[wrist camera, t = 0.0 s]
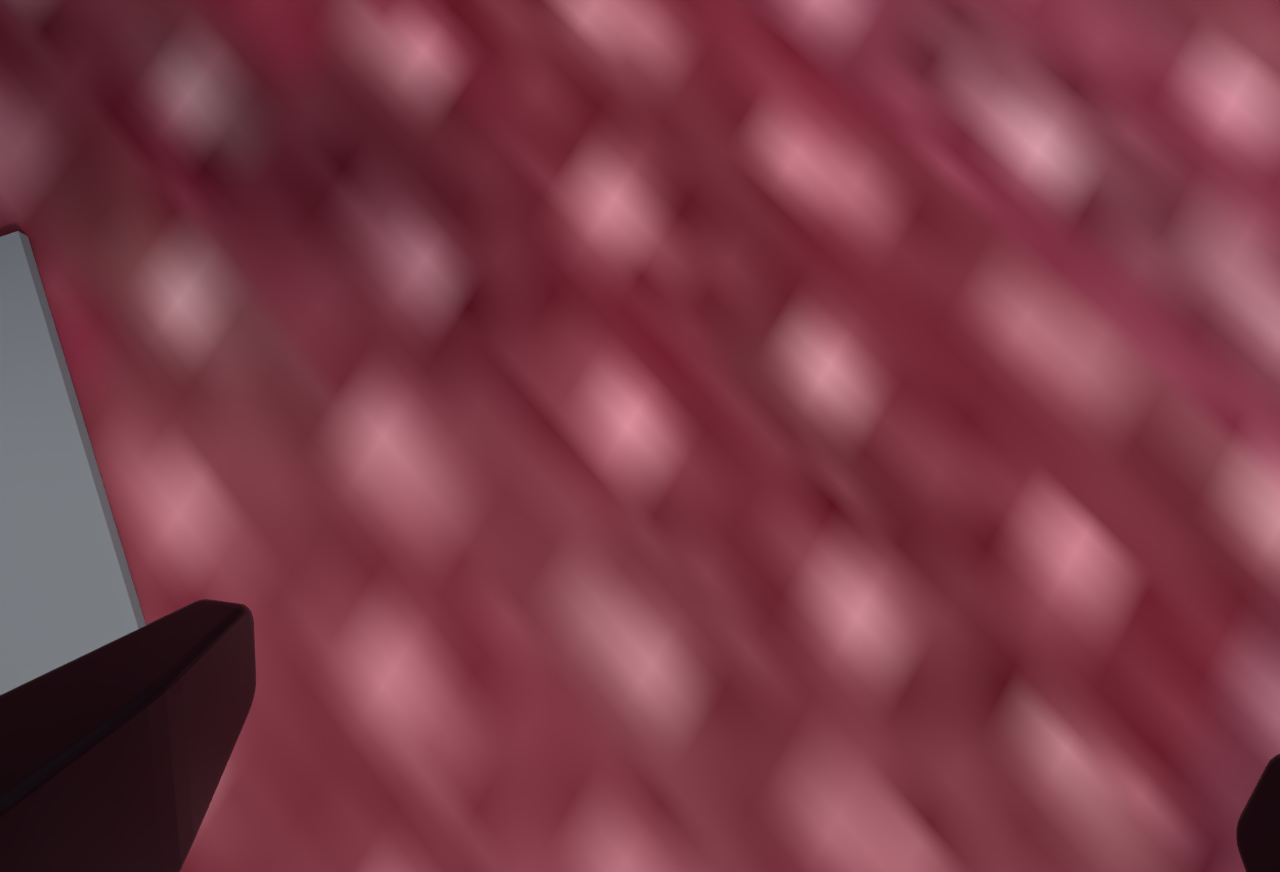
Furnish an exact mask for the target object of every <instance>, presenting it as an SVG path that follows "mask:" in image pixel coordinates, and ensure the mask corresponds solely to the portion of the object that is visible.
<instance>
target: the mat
mask: <svg viewBox="0 0 1280 872" xmlns="http://www.w3.org/2000/svg"><path fill="white" fill-rule="evenodd" d="M144 626H146V624H145V620H144V617H143V614H142V611H141V607H140V604H139V601H138V597H137V594H136V591H135V587H134V584H133V581H132V578H131V574H130V571H129V568H128V564H127V561H126V558H125V555H124V551H123V548H122V545H121V541H120V538H119V535H118V532H117V528H116V525H115V522H114V518H113V515H112V512H111V509H110V505H109V502H108V499H107V495H106V492H105V489H104V485H103V482H102V479H101V476H100V472H99V469H98V466H97V462H96V459H95V456H94V453H93V449H92V446H91V443H90V439H89V436H88V433H87V430H86V426H85V423H84V420H83V416H82V413H81V410H80V407H79V403H78V400H77V397H76V393H75V390H74V387H73V383H72V380H71V377H70V374H69V370H68V367H67V364H66V360H65V357H64V354H63V351H62V347H61V344H60V341H59V337H58V334H57V331H56V328H55V324H54V321H53V318H52V314H51V311H50V308H49V305H48V301H47V298H46V295H45V291H44V288H43V285H42V281H41V278H40V275H39V272H38V268H37V265H36V262H35V258H34V255H33V252H32V249H31V245H30V242H29V239H28V236H26V235H24V234H23V233H21V232H19V231H16V232H13V233H10V234H7V235H4V236H1V237H0V695H2V694H4V693H6V692H8V691H10V690H12V689H14V688H16V687H18V686H20V685H22V684H25V683H27V682H29V681H31V680H33V679H35V678H37V677H39V676H41V675H43V674H45V673H48V672H50V671H52V670H54V669H56V668H58V667H60V666H62V665H64V664H66V663H68V662H71V661H73V660H75V659H77V658H79V657H81V656H83V655H85V654H87V653H89V652H91V651H93V650H96V649H98V648H100V647H102V646H104V645H106V644H108V643H110V642H112V641H114V640H116V639H119V638H121V637H123V636H125V635H127V634H129V633H131V632H133V631H135V630H137V629H139V628H141V627H144Z"/></svg>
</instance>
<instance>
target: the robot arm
mask: <svg viewBox="0 0 1280 872" xmlns="http://www.w3.org/2000/svg"><path fill="white" fill-rule="evenodd" d="M255 687H256V666H255V641H254V621H253V616H252V613H251V610H250V609H249V608H248V607H246V606H245V605H243V604H237V603H230V602H223V601H216V600H208V599H203V600H199V601H196V602H194V603H192V604H190V605H187V606H185V607H183V608H181V609H179V610H177V611H175V612H173V613H171V614H169V615H167V616H164V617H162V618H160V619H158V620H156V621H154V622H152V623H150V624H148V625H146V626H144V627H141V628H139V629H137V630H135V631H133V632H131V633H129V634H127V635H125V636H123V637H121V638H119V639H116V640H114V641H112V642H110V643H108V644H106V645H104V646H102V647H100V648H98V649H96V650H93V651H91V652H89V653H87V654H85V655H83V656H81V657H79V658H77V659H75V660H73V661H71V662H68V663H66V664H64V665H62V666H60V667H58V668H56V669H54V670H52V671H50V672H48V673H45V674H43V675H41V676H39V677H37V678H35V679H33V680H31V681H29V682H27V683H25V684H22V685H20V686H18V687H16V688H14V689H12V690H10V691H8V692H6V693H4V694H2V695H0V872H180V870H181V868H182V866H183V864H184V862H185V859H186V857H187V855H188V853H189V851H190V849H191V846H192V844H193V842H194V840H195V837H196V835H197V833H198V830H199V828H200V826H201V823H202V821H203V819H204V816H205V814H206V812H207V809H208V807H209V805H210V802H211V800H212V797H213V795H214V793H215V790H216V788H217V786H218V783H219V781H220V779H221V776H222V774H223V772H224V769H225V767H226V765H227V762H228V760H229V758H230V755H231V753H232V751H233V748H234V746H235V744H236V741H237V739H238V737H239V734H240V732H241V730H242V727H243V725H244V723H245V720H246V718H247V716H248V713H249V711H250V708H251V705H252V702H253V699H254V694H255ZM1236 838H1237V845H1238V850H1239V853H1240V856H1241V859H1242V862H1243V865H1244V867H1245V870H1246V872H1280V754H1278V755H1276V756H1275V757H1274V758H1272V759H1271V760H1270V761H1269V763H1268V764H1267V766H1266V768H1265V770H1264V772H1263V774H1262V775H1261V777H1260V779H1259V781H1258V783H1257V785H1256V787H1255V789H1254V791H1253V793H1252V794H1251V796H1250V798H1249V800H1248V802H1247V804H1246V806H1245V808H1244V810H1243V812H1242V813H1241V815H1240V818H1239V820H1238V825H1237V836H1236Z"/></svg>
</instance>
